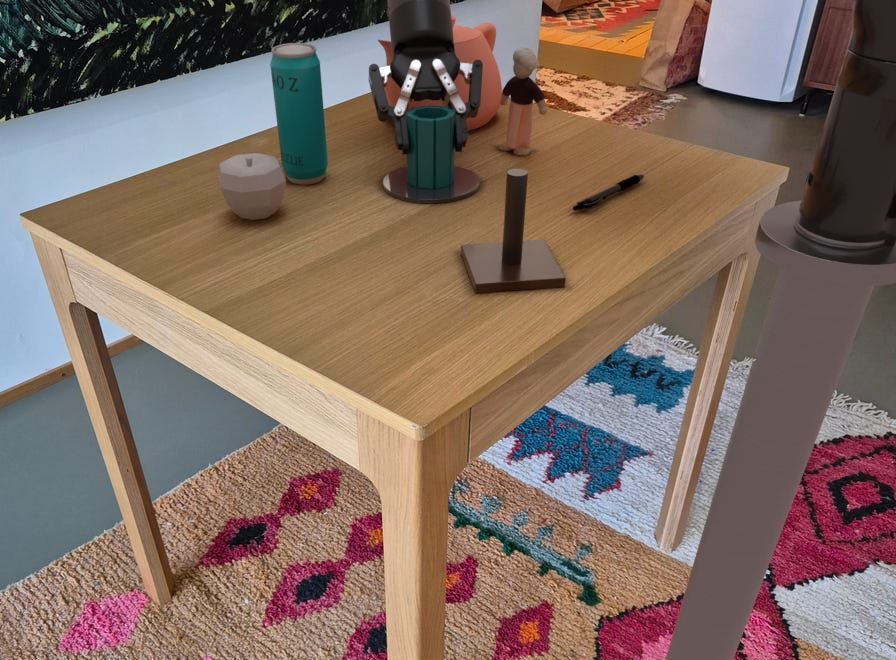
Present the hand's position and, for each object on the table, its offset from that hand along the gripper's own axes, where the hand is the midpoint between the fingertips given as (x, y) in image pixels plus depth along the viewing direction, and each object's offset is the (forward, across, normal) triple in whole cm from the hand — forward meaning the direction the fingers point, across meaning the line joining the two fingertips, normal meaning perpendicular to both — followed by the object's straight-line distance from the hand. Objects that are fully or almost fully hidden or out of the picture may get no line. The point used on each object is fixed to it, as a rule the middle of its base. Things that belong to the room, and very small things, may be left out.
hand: (432, 149), depth 99 cm
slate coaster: (+2, 0, +4) cm, 5 cm away
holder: (+19, +5, -12) cm, 24 cm away
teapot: (-15, +4, +22) cm, 27 cm away
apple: (+7, -21, 0) cm, 22 cm away
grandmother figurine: (-5, +13, +12) cm, 18 cm away
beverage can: (-1, -15, +8) cm, 17 cm away
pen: (+8, +21, -1) cm, 22 cm away
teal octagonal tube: (+2, 0, +4) cm, 5 cm away
